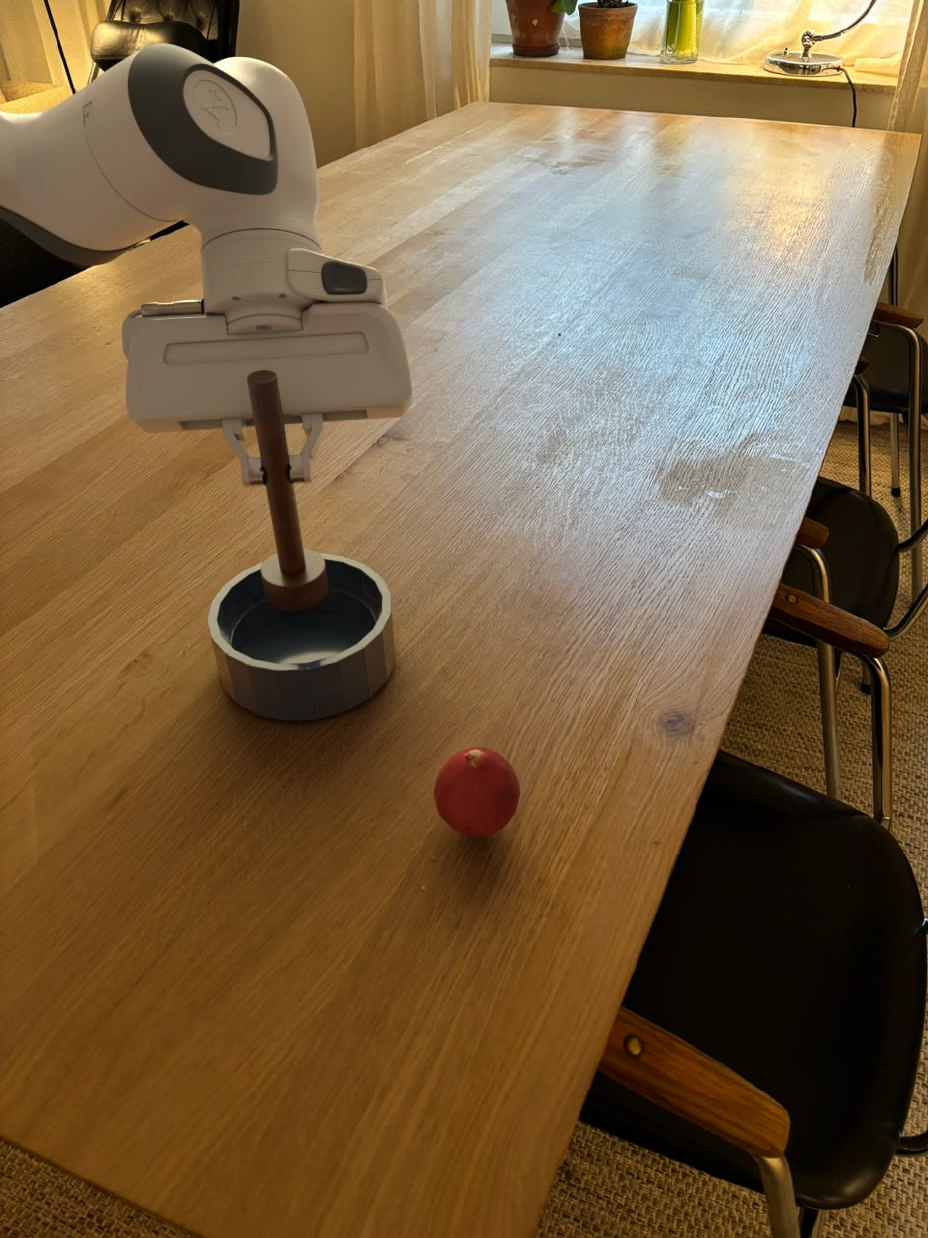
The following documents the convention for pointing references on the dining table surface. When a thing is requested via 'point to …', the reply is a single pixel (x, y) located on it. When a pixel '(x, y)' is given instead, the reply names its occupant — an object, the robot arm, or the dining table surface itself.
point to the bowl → (304, 644)
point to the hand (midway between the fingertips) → (278, 483)
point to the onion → (477, 792)
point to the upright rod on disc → (283, 507)
